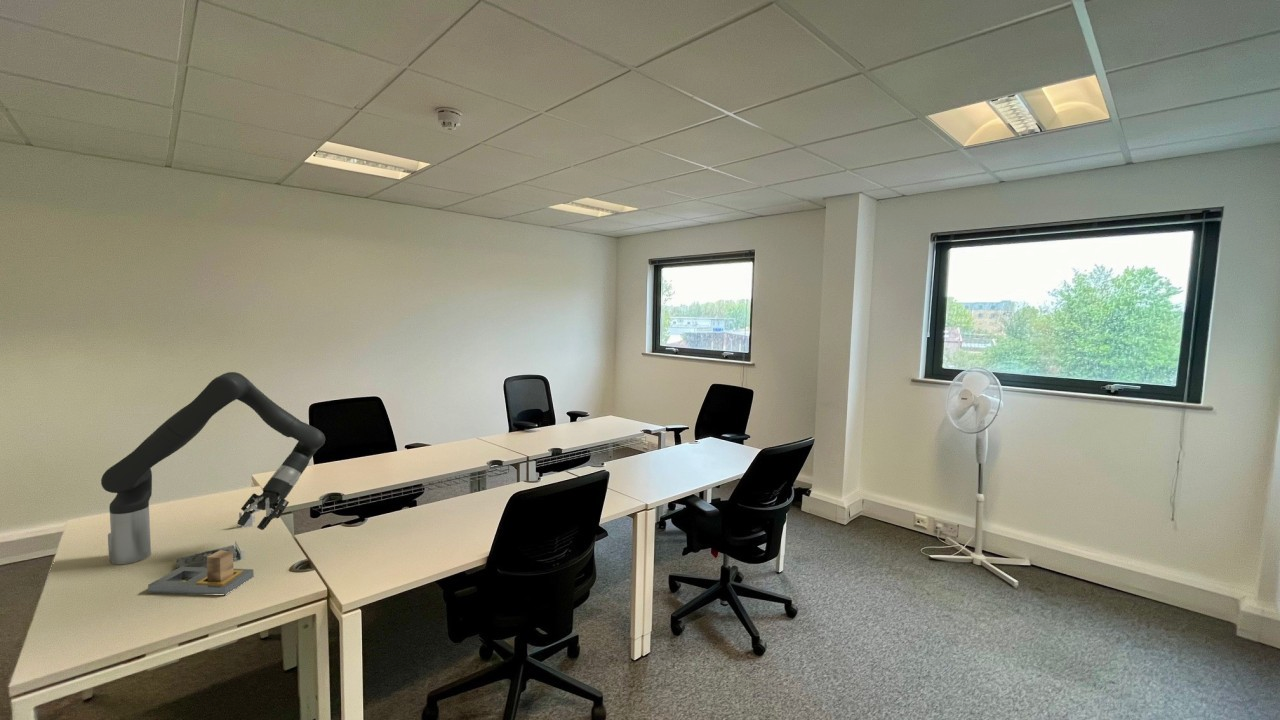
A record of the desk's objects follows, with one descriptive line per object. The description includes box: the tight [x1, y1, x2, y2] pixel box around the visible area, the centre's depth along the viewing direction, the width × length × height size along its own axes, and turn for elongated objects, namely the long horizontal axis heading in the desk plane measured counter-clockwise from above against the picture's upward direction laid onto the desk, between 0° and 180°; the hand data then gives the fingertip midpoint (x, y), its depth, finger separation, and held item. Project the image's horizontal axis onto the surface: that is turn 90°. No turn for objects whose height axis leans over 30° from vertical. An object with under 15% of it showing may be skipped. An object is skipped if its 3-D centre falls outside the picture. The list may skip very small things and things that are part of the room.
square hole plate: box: [147, 567, 255, 596], centre depth 155 cm, size 23×11×3 cm, turn 90°
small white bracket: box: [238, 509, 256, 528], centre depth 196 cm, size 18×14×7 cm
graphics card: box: [176, 540, 246, 569], centre depth 169 cm, size 17×4×12 cm
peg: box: [206, 550, 235, 582], centre depth 155 cm, size 4×4×10 cm
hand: (249, 526), depth 163 cm, fingers open, 8 cm apart
